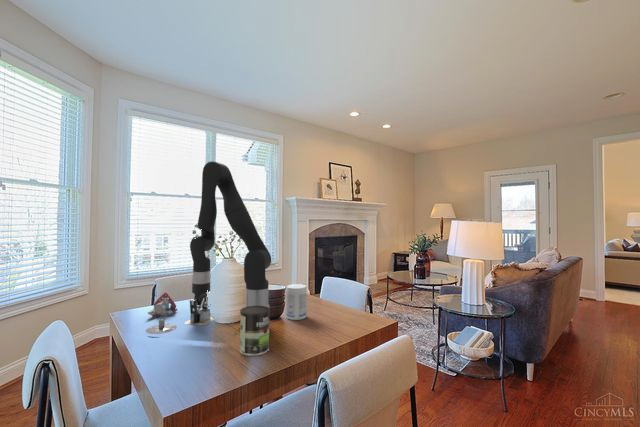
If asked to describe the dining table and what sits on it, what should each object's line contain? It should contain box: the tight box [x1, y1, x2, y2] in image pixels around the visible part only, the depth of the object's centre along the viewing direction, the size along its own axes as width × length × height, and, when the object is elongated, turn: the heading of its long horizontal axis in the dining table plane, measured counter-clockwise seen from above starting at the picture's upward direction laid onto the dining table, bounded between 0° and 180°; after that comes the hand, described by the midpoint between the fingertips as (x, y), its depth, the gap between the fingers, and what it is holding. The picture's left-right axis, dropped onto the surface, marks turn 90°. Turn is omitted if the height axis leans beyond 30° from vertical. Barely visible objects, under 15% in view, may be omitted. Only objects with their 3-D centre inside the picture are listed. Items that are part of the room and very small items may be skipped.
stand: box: [183, 316, 215, 326], centre depth 133 cm, size 10×10×5 cm
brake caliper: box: [147, 292, 178, 320], centre depth 141 cm, size 11×11×12 cm
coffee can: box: [239, 306, 271, 357], centre depth 108 cm, size 10×10×14 cm
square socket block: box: [189, 308, 212, 323], centre depth 133 cm, size 6×6×4 cm
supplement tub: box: [285, 283, 308, 321], centre depth 143 cm, size 10×10×15 cm
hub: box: [145, 318, 178, 339], centre depth 122 cm, size 11×11×5 cm
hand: (200, 319), depth 133 cm, fingers closed on square socket block, 6 cm apart
